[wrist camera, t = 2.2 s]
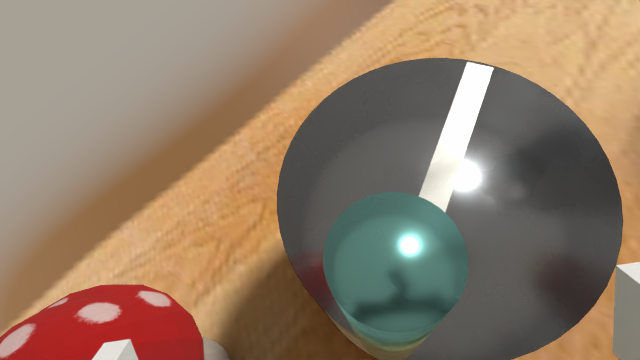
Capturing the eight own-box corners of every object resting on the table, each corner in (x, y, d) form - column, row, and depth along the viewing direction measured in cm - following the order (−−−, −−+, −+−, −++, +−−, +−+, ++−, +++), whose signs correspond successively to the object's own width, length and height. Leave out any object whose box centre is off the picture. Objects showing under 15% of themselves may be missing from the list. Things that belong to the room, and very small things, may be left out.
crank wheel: (354, 101, 32) (322, -185, 16) (585, 164, 27) (870, -151, 11) (257, 309, 26) (53, 191, 10) (529, 433, 22) (947, 574, 6)
